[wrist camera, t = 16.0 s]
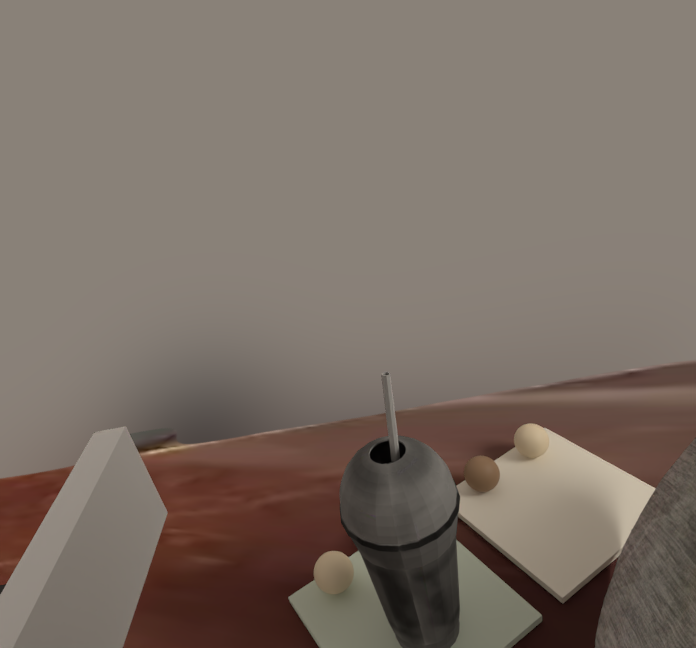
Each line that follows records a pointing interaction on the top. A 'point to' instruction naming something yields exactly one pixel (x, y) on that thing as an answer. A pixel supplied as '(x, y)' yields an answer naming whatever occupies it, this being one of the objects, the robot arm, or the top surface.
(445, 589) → the beverage cup
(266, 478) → the top surface
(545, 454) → the cream card
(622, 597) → the disc
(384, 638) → the sage card
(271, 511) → the top surface
